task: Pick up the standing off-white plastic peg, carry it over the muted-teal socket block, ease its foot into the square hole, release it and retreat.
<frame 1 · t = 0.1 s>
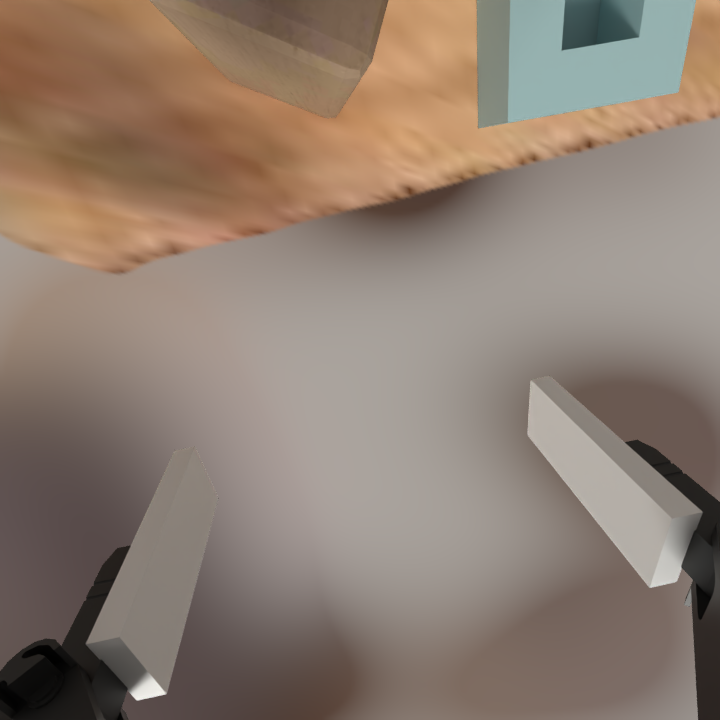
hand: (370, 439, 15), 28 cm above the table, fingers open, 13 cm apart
wooden block: (294, 32, 31), on the table
socket: (557, 18, 33), on the table
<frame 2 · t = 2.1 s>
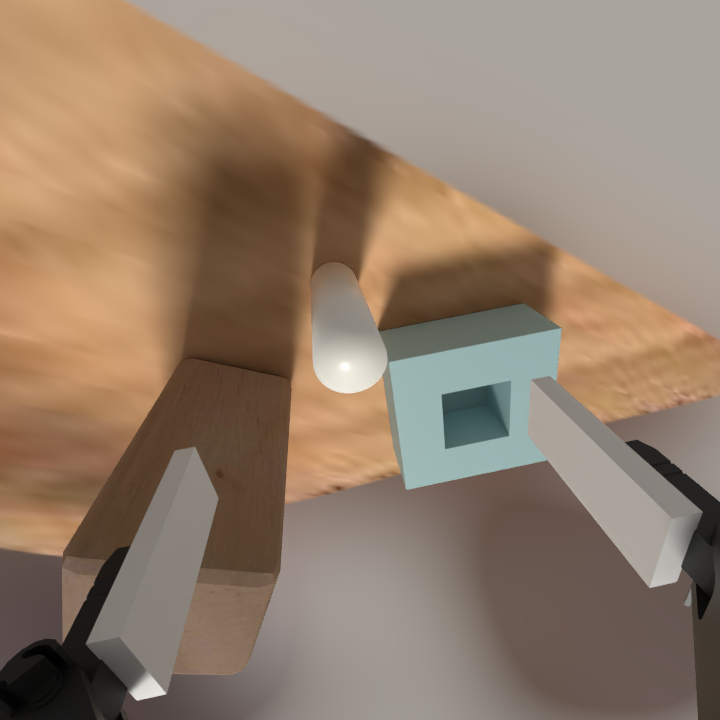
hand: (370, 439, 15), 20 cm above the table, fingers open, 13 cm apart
wooden block: (231, 407, 38), on the table
peg: (334, 285, 33), on the table
socket: (453, 381, 39), on the table
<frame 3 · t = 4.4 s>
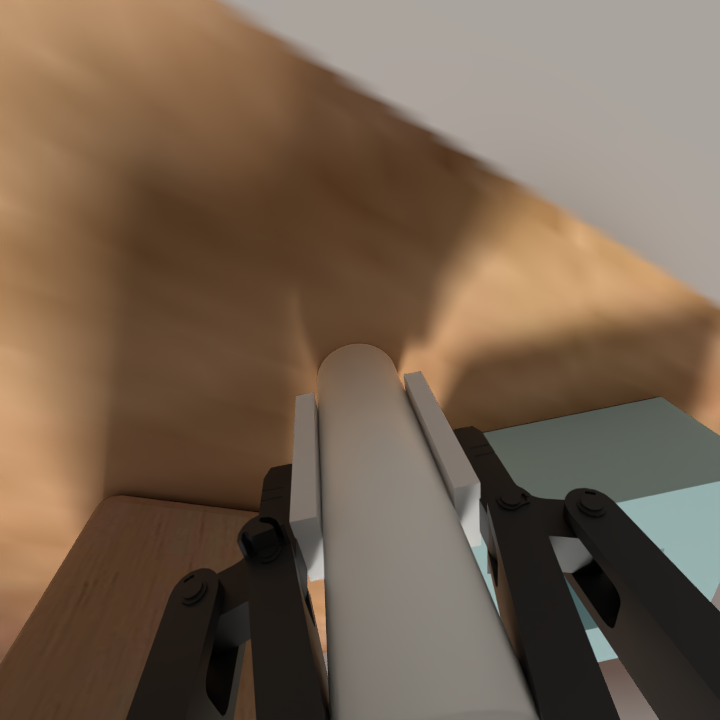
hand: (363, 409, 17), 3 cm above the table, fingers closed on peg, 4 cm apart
wooden block: (190, 553, 24), on the table
peg: (357, 379, 19), on the table, touching gripper
socket: (536, 506, 25), on the table
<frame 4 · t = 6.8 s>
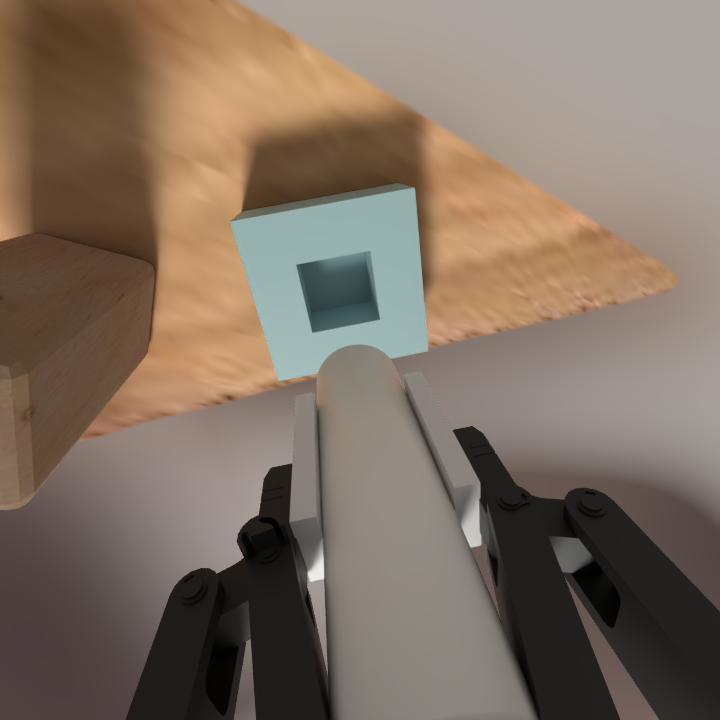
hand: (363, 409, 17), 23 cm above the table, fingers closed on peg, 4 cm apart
wooden block: (97, 297, 36), on the table
peg: (357, 380, 19), point 20 cm above the table, touching gripper
socket: (335, 274, 38), on the table
when the fingers open (7 cm above the table, at t = 9.5 s): peg drops 1 cm, resting on socket.
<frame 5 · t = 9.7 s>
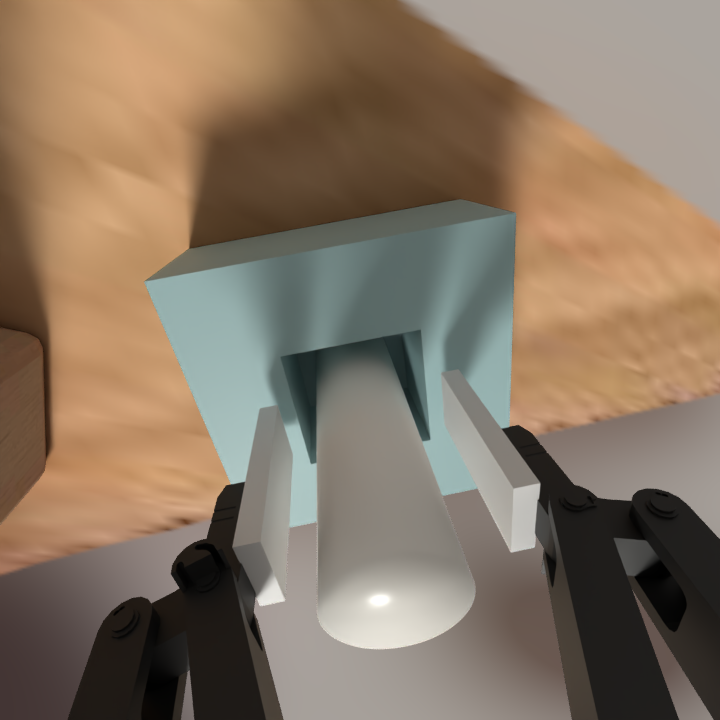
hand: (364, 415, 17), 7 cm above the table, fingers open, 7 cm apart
peg: (351, 354, 22), point 1 cm above the table, touching socket
socket: (349, 346, 23), on the table
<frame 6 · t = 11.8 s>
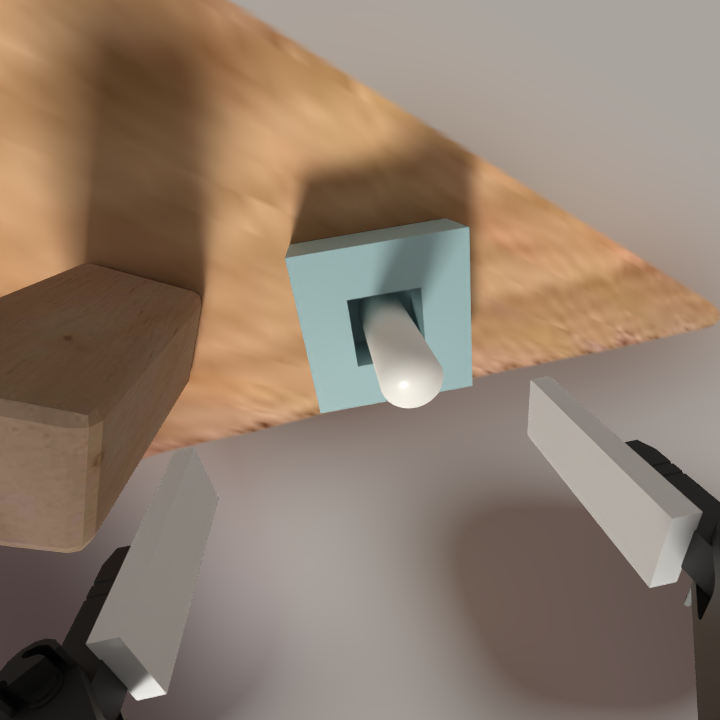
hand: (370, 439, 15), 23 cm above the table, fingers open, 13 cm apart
wooden block: (142, 325, 36), on the table
peg: (379, 309, 37), point 1 cm above the table, touching socket
socket: (377, 305, 37), on the table
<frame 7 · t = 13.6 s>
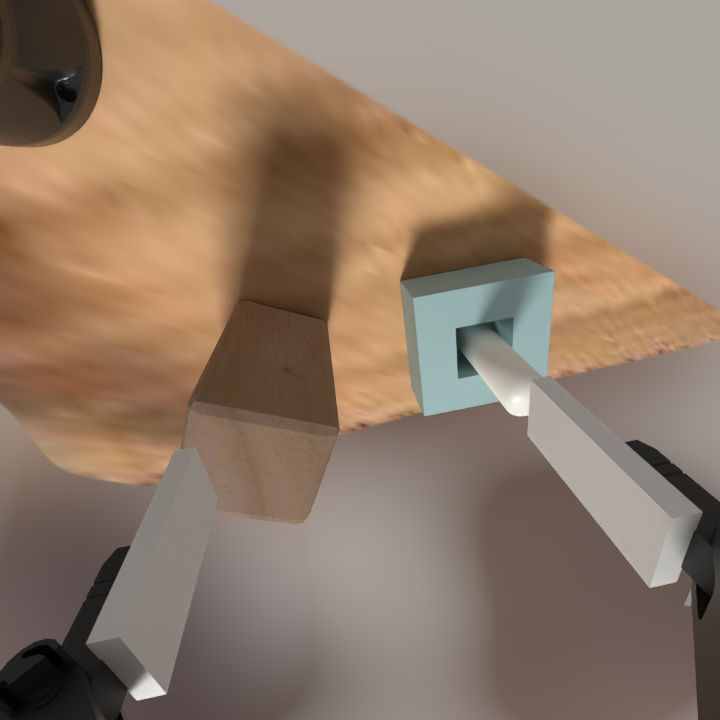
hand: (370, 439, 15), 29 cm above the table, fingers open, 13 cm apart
wooden block: (275, 346, 44), on the table
peg: (467, 330, 45), point 1 cm above the table, touching socket
socket: (464, 327, 46), on the table
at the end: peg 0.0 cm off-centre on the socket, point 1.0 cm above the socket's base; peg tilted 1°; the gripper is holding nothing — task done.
